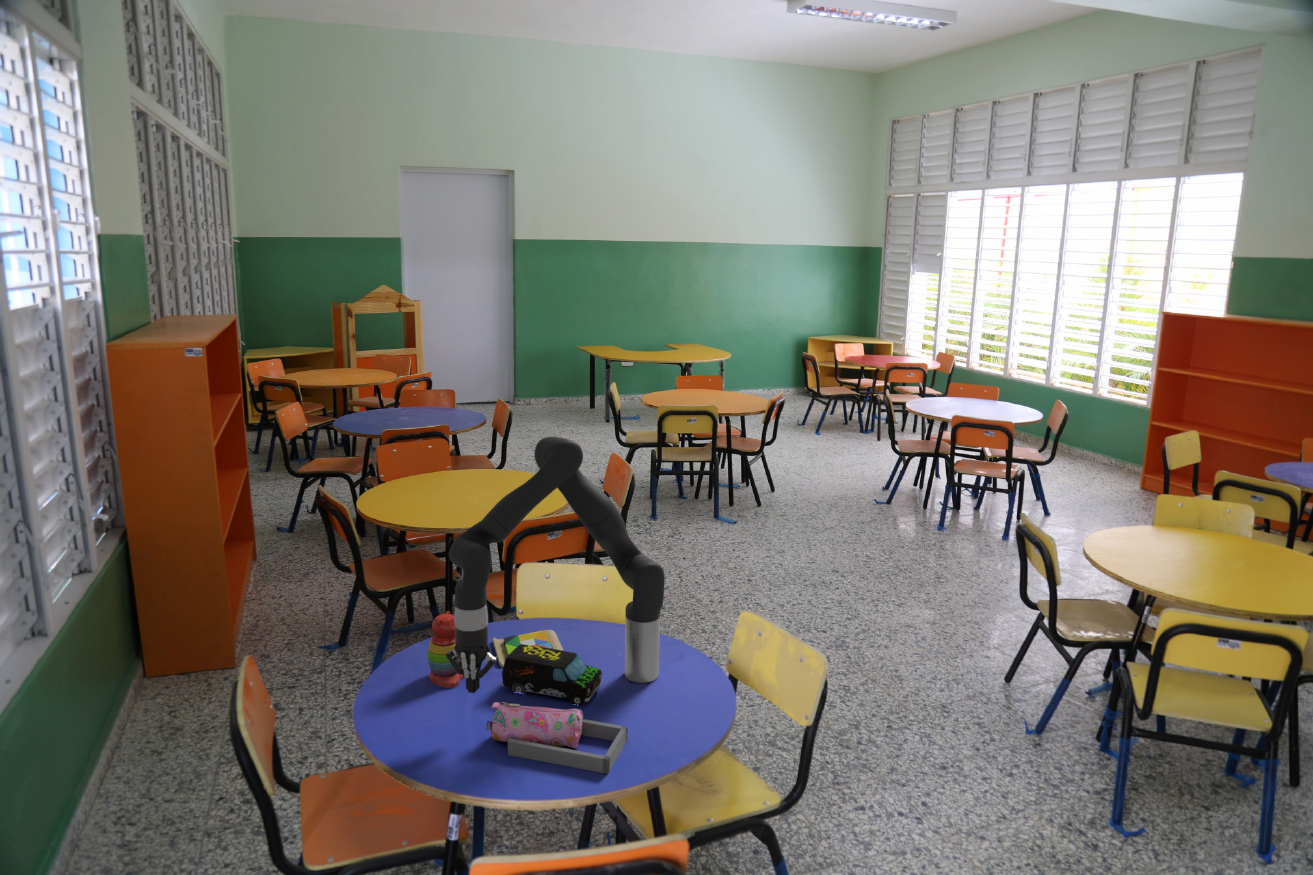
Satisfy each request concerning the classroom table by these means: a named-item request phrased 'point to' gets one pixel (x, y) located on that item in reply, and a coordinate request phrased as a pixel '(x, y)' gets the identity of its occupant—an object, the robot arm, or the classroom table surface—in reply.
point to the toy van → (550, 673)
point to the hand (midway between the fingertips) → (472, 691)
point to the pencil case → (536, 724)
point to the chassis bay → (572, 756)
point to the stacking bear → (443, 652)
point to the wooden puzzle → (525, 643)
